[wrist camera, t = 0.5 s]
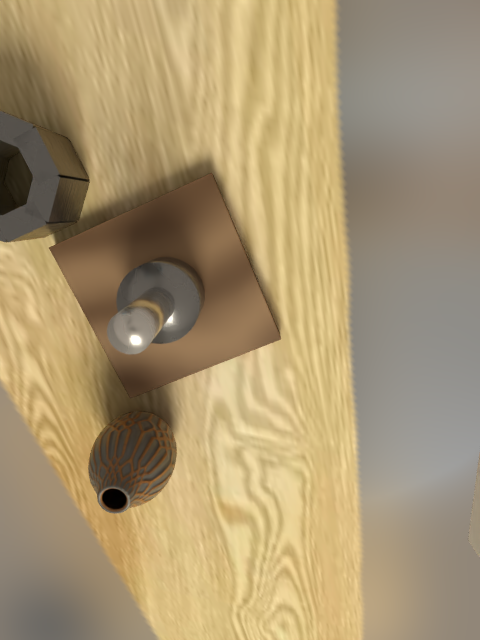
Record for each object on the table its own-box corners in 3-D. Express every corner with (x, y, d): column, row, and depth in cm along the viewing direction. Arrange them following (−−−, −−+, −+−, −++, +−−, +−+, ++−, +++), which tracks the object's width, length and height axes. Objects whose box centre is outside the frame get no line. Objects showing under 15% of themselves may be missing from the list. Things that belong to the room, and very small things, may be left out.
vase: (145, 385, 36) (112, 439, 27) (197, 437, 37) (181, 505, 29) (92, 430, 37) (45, 495, 29) (145, 479, 39) (115, 555, 30)
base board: (56, 246, 33) (48, 247, 32) (212, 174, 31) (211, 172, 30) (134, 392, 36) (130, 398, 35) (280, 334, 34) (281, 339, 33)
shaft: (117, 274, 32) (55, 304, 22) (185, 244, 31) (153, 261, 21) (150, 340, 34) (107, 397, 23) (216, 313, 33) (201, 360, 23)
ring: (-36, 152, 31) (-89, 142, 26) (53, 107, 30) (15, 87, 25) (18, 249, 33) (-22, 256, 28) (104, 209, 32) (78, 209, 27)
